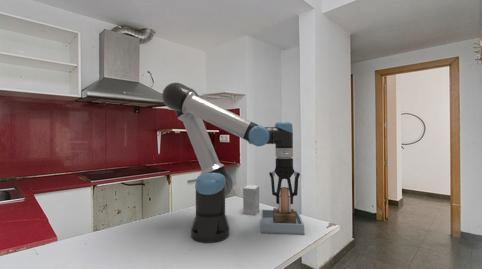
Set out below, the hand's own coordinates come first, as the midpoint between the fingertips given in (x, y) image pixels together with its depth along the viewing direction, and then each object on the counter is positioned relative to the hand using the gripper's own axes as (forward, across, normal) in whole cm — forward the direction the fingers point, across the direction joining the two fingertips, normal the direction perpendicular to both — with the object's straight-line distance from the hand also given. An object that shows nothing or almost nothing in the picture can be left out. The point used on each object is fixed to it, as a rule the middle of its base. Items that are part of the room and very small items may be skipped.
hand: (284, 211), depth 104 cm
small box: (+6, -15, +16) cm, 23 cm away
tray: (+6, -2, 0) cm, 6 cm away
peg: (+4, 0, 0) cm, 4 cm away
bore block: (+6, 0, 0) cm, 6 cm away
